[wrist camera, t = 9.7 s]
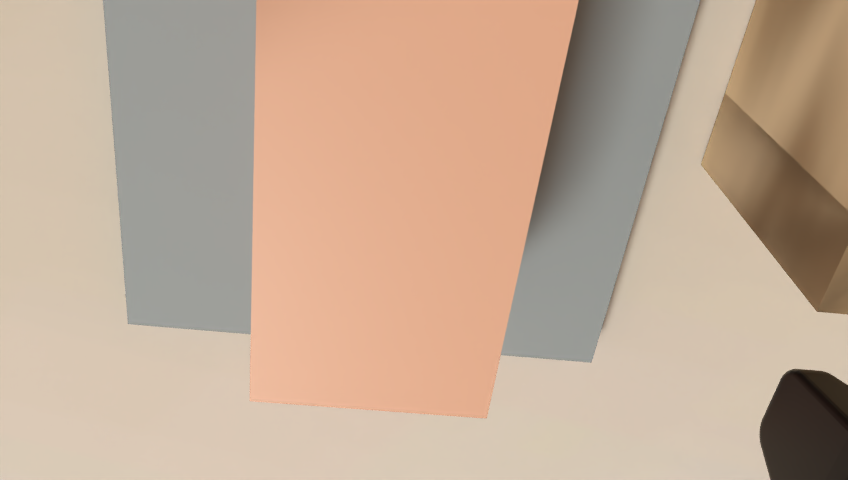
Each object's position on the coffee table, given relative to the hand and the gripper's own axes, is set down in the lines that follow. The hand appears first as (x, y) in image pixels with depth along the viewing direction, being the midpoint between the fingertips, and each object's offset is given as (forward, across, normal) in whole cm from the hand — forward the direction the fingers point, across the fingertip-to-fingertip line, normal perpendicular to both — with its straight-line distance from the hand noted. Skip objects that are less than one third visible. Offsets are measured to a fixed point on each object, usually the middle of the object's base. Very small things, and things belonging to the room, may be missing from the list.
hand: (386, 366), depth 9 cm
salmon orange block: (+7, 0, -1) cm, 7 cm away
